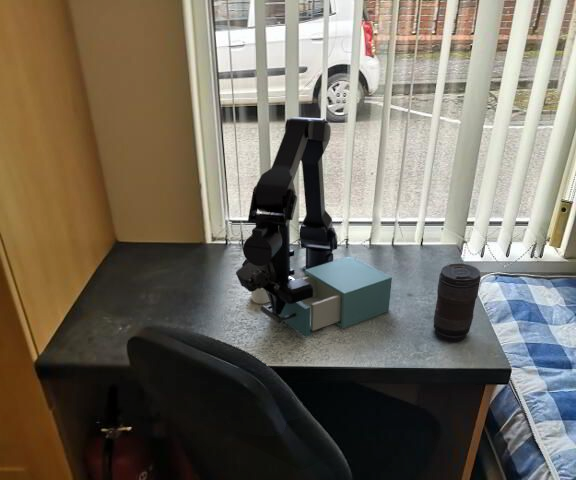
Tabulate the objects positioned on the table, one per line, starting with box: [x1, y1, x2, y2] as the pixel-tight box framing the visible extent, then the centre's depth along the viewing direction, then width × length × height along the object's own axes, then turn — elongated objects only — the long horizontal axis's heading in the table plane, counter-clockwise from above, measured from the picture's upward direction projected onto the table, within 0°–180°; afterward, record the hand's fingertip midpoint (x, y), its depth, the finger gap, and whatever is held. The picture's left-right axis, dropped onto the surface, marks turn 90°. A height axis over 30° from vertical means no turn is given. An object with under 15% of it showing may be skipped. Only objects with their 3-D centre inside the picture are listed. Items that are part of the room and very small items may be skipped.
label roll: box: [251, 288, 270, 305], centre depth 137 cm, size 5×5×4 cm
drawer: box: [259, 276, 342, 338], centre depth 126 cm, size 17×13×7 cm
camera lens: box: [433, 263, 482, 344], centre depth 119 cm, size 8×8×15 cm
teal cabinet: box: [304, 255, 393, 329], centre depth 132 cm, size 14×15×9 cm
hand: (277, 314), depth 123 cm, fingers closed
